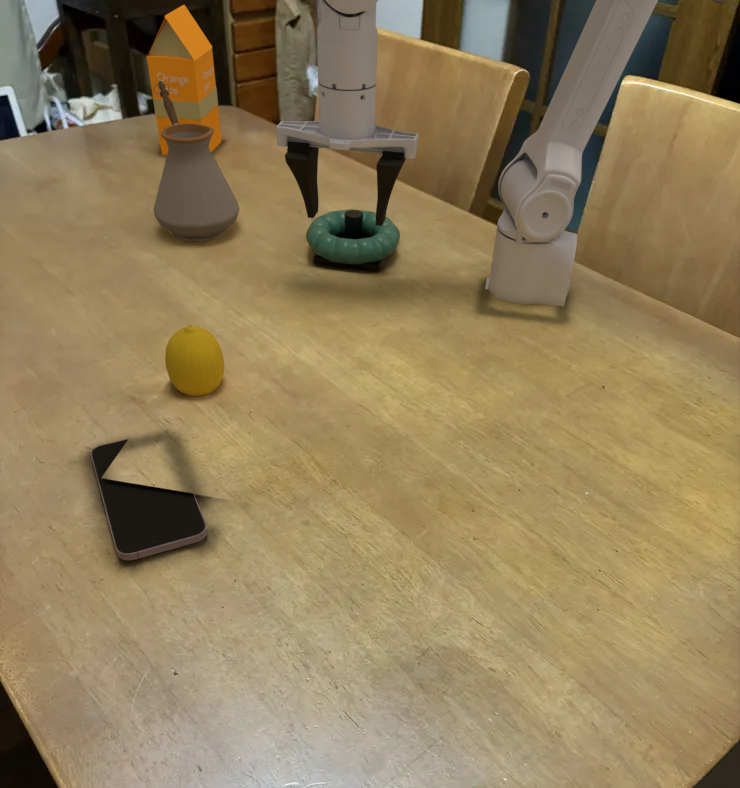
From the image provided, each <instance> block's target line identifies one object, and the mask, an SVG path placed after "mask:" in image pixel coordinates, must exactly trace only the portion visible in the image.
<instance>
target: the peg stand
mask: <svg viewBox="0 0 740 788" xmlns="http://www.w3.org/2000/svg"><path fill="white" fill-rule="evenodd" d="M347 210H348V209H347ZM358 210H359V209H354V210H348V211H346V212H345V214H344V234H338V235H335V236H336V237H339V238H347V239H363V238H370V237H371V236H369V235H366V234H363V213H362V212H361V211H358ZM384 261H385V258H383V259H381V260H379V261H377V262H371V263H363V264H346V263H337V262H332V261H330V260H328V259H325V258H323V257H321V256H319V255H317V254H315V255H314V257H313V265H316V266H323V267H324V266H325V267H331V268H341V269H347V270H348V269H349V270H356V271H357V270H358V271H366V272H374V273H379V272H380V270H381V267H382V265H383V263H384Z"/></svg>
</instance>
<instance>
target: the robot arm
mask: <svg viewBox="0 0 740 788" xmlns="http://www.w3.org/2000/svg"><path fill="white" fill-rule="evenodd" d="M378 1H379V0H319V3H318V5H317V18H318V21H319V24H318V26H317V30H316V35H317V36H316V39H317V44H316V45H317V81H318V82H317V83H318V120H308V121H307V120H306V121H304V120H301V121H295V120H294V121H291V120H281V121H280V122H279V123H278V124H277V125H276V128H275V129H276V130H275V131H276V145H277V147H286V153H285V154H284V160H285V163H286V165H287V167H288V169H289V170H290V172H291V174H292V175H293V177H294V179H295V182H296V183H297V186H298V188H299V191H300V194H301V196H302V200H303V202H304V207H305V211H306V215H307V218H308V219H315V218H316V216H317V214H318V212H319V201H320V200H319V188H318V187H319V186H318V168H319V167H318V166H319V165H318V164H319V151H320V149H328V150H336V151H337V150H338V151H350V152H359V153H369V154H376V155H377V154H378V155H381V156H380V157H379V159H378V160H377V163H376V184H377V185H376V186H377V197H376V198H377V199H376V209H375V213H376V225H377V226H382V225H383V223H384V221H385V218H386V217H387V210H388V205H389V201H390V198H391V195H392V192H393V189H394V186H395V184H396V182H397V179H398V176H399V174H400V172H401V170H402V168H403V166H404V164H405V162H406V160H415V158H416V156H417V155H418V146H419V145H418V144H419V133H415V132H414V133H413V132H409V131H408V132H407V131H401V130H398V129H393V128H388V127H385V126H380V125H376V111H377V110H376V109H377V108H376V107H377V105H376V104H377V74H378V73H377V71H378V69H377V68H378V41H379V39H378V38H379V37H378V36H379V32H378V28H377V27H376V26H377V3H378ZM658 2H659V0H595V2H594V4H593V6H592V9H591V11H590V14H589V16H588V18H587V20H586V23H585V25H584V26H583V29H582V32H581V33H580V36H579V38H578V40H577V42H576V45H575V47H574V49H573V51H572V54H571V55H570V58H569V60H568V62H567V65H566V67H565V69H564V71H563V73H562V76H561V77H560V80H559V82H558V84H557V87H556V89H555V91H554V93H553V96H552V97H551V100H550V103H549V104H548V107H547V108H546V111H545V113H544V116H543V118H542V120H541V122H540V125H539V127H538V129H537V130H536V131H535V132H533V133H532V134H531V135H529V137H526V139H525V140H524V141H523V143H522V144H521V145H522V146H521V148H520V150H519V151H518V153H517V154H516V156H514V158H513V159H512V160H511V161H510V162H508V164H507V165H506V166H505V167H504V168H503V170H502V172H501V174H500V176H499V178H498V184H497V191H498V196H499V198H500V200H501V201H502V203H503V205H504V209H503V210H502V213H501V215H500V217H499V218H498V221H497V226H496V232H495V238H494V246H493V254H492V259H491V265H490V266H491V267H490V273H489V276H488V277H487V278H486V280H485V281H486V282H485V287H484V289H485V290H489V292H490V293H491V294H492V295H493V296H494V297H496V298H497V299H499V300H502V301H504V302H508V303H512V304H519V305H523V304H524V305H529V304H530V305H531V304H533V305H536V304H537V305H545V306H546V305H547V306H553V307H554V306H556V307H565V303H566V299H567V297H568V296H569V292H570V287H571V277H572V272H573V268H574V264H575V258H576V252H577V245H578V233H575V232H570V231H567V230H566V229H567V227H568V226H569V225H570V223H571V220H572V218H573V215H574V207H575V206H574V205H575V197H576V193H577V191H578V189H579V187H580V186H581V183H582V169H583V168H582V165H583V153H584V151H585V149H586V147H587V145H588V143H589V140H590V139H591V137H592V134H593V132H594V130H595V128H596V126H597V124H598V122H599V120H600V118H601V116H602V114H603V112H604V111H605V109H606V106H607V105H608V102H609V100H610V98H611V97H612V95H613V92H614V91H615V88H616V86H617V84H618V83H619V81H620V78H621V76H622V75H623V72H624V70H625V68H626V66H627V64H628V62H629V60H630V58H631V56H632V54H633V52H634V49H635V48H636V46H637V44H638V42H639V40H640V38H641V36H642V33H643V32H644V30H645V27H646V26H647V24H648V22H649V20H650V18H651V15H652V13H653V11H654V9H655V8H656V6H657V4H658Z"/></svg>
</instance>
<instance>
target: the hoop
mask: <svg viewBox="0 0 740 788" xmlns="http://www.w3.org/2000/svg"><path fill="white" fill-rule="evenodd" d="M348 210H355V209H354V208H349V209H341V210H339V209H338V210H332V211H329V212H326V213H324V214H322V215H319V216H317V217H314V218H313V220H312V221H311V223H310V224H309V226H308V228H307V229H306V232H305V240H306V242H307V244H308V246H309V247H310V249H311V250H312V251H313V254H315V255H316V254H317V255H319V256H321V257H323V258H325V259H328V260H330V261H332V262H337V263H346V264H363V263H371V262H377V261H379V260H381V259H383V258H384V259H385V258H387V257H389V256H391V255H392V254H394V253H395V251H396V249H397V247H398V245H399V242H400V239H401V233H400V230H399V228H398V227H397V225H396V224H395V223H394V222H393V221H392V220H391V219H390V218H389V217H388V216H386V218H385V221H384V223H383V225H382V226H377V225H376V212H374V211H371V210H363V209H357V210H358V211H361V212H362V213H363V234H366V235H369V236H371V237H370V238H363V239H347V238H339V237H336V236H335V235H338V234H344V214H345V212H346V211H348Z"/></svg>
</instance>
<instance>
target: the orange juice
mask: <svg viewBox="0 0 740 788" xmlns="http://www.w3.org/2000/svg"><path fill="white" fill-rule="evenodd" d="M213 54H214V53H213V45H212V44H211V42H210V40H209V39H208V38H207V37H206V35H205V33H204V32H203V30H202V29H201V28H200V26H199V24H198V22H197V21H196V20H195V18H194V17H193V15H192V14H191V13H190V11H189V9H188V7H187V6H186V5H185V4H182V5H180V6H179V7H177V8H175V9H174V10H172V11H170V12H168V13H167V14H165V15H164V19H163V21H162V23H161V25H160V28H159V29H158V31H157V34H156V36H155V39H154V41H153V43H152V45H151V47H150V49H149V52H148V54H147V55H146V62H147V68H148V75H149V80H150V87H151V93H152V102H153V103H152V104H153V109H154V115H155V119H156V125H157V131H158V137H159V145H160V151H161V155H162V156H167V153H168V149H169V148H168V146H167V143H166V140H165V139H164V138H163V137H162V136H161V131H162V130H163V129H164V128H166V127H168V126H171V125H172V123H171V121H170V119H169V116H168V114H167V112H166V110H165V107H164V102H163V98H162V97H161V96H160V95H158V94H156V93H155V92H157V93H160V91H161V90H160V89H159V85H157V86H156V87H155V89H154V90H155V92H154V90H153V88H154V86H155V85H156V84H157V83H158V82H159V81H162V82H163V83H166V84H168V85H169V87H170V90H169V87H168V85H166V84H164V85H165V87H166V88H165V89H166V90H169V98H170V100H171V101H172V103H173V105H174V109H175V112H176V116H177V119H178V123H179V124H185V123H193V124H201V125H205V126H208V127H211V128H213V129H214V133H213V134H212V137H211V140H210V143H209V149H210V151H211V152H212V153H213V152H214V150H215V149H216V148H217V147H218V146H219V145H220V144H221V143H222V141H223V140H222V133H221V131H222V130H221V122H220V113H219V100H218V99H219V98H218V89H217V83H216V73H215V72H216V71H215V64H214V63H215V62H214V55H213Z"/></svg>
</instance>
